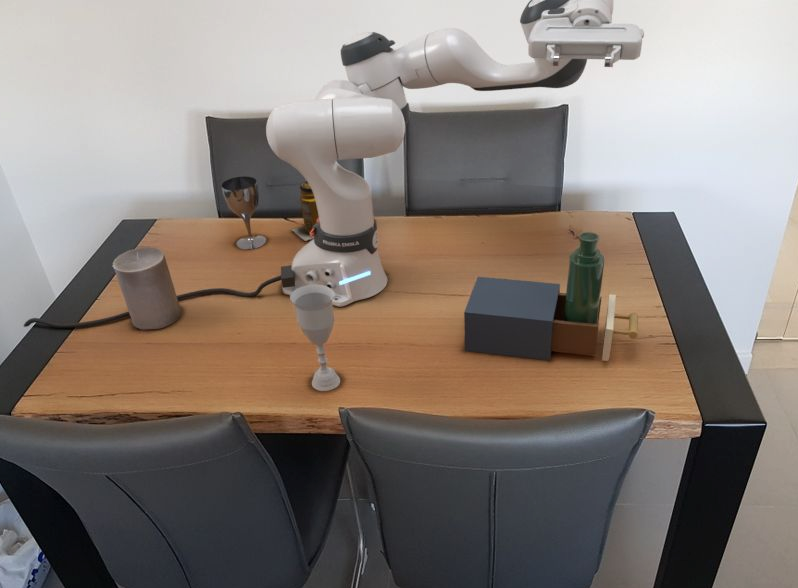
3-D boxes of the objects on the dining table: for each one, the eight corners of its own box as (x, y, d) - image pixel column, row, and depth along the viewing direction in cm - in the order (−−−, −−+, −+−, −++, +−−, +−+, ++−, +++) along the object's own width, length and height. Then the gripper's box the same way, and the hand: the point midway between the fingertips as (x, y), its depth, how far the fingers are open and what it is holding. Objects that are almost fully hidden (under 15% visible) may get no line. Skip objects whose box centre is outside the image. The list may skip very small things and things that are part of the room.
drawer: (635, 327, 133) (640, 296, 129) (633, 364, 124) (639, 332, 120) (534, 317, 138) (536, 287, 134) (526, 352, 129) (528, 320, 125)
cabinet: (557, 322, 138) (560, 283, 132) (549, 360, 128) (552, 321, 123) (477, 313, 141) (477, 276, 136) (464, 350, 131) (464, 312, 126)
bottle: (561, 341, 129) (569, 243, 117) (564, 323, 133) (572, 227, 122) (594, 345, 127) (606, 246, 116) (596, 327, 132) (608, 229, 120)
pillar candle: (166, 299, 151) (147, 236, 143) (190, 316, 146) (171, 251, 137) (123, 318, 146) (101, 254, 137) (146, 336, 140) (124, 270, 132)
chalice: (298, 389, 125) (281, 302, 114) (316, 366, 130) (302, 281, 119) (335, 397, 122) (322, 310, 112) (352, 374, 127) (341, 288, 117)
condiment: (336, 231, 173) (330, 185, 166) (305, 241, 170) (297, 194, 163) (322, 221, 178) (316, 175, 171) (292, 230, 175) (284, 184, 168)
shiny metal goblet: (264, 249, 168) (252, 189, 159) (231, 250, 168) (217, 191, 159) (270, 233, 174) (259, 175, 165) (238, 235, 174) (225, 177, 165)
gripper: (641, 44, 135) (639, 80, 126) (533, 43, 139) (524, 78, 131) (646, 10, 130) (645, 45, 121) (534, 10, 135) (524, 44, 126)
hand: (581, 62), depth 126 cm, fingers open, 8 cm apart
